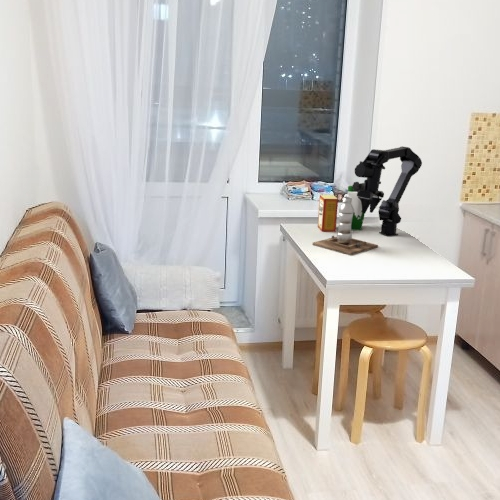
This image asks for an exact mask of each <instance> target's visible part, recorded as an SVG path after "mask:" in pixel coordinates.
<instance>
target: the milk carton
mask: <svg viewBox="0 0 500 500" xmlns="http://www.w3.org/2000/svg"><path fill="white" fill-rule="evenodd" d="M347 188H348V189H347V195H346V197H350V198H352V200H351V201H352V202H351V205H352V206H353V209H354V213H353V217H352V224H351V230H353V231H354V230H355V231H361V230H362V227H363V223H364V220H365V214H363V213H362V204H361V200H360V199H359V198H358V196H357V192H354V190H353V188H352V185H349V186H347Z"/></svg>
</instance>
